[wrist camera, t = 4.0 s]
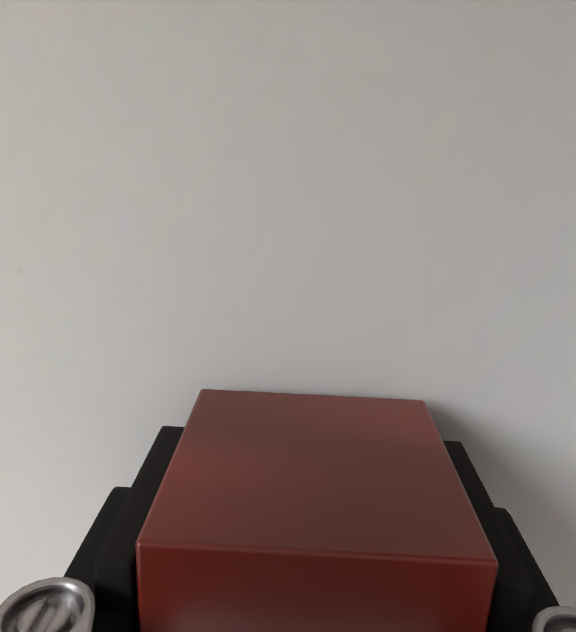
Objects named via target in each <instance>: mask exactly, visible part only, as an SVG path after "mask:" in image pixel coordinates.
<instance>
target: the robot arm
mask: <svg viewBox="0 0 576 632" xmlns="http://www.w3.org/2000/svg"><path fill="white" fill-rule="evenodd" d="M184 428H185V427H173V426H163V427H162V428H161V430H160V432H159V434H158V436H157V438H156V439H155V441H154V443H153V445H152V447H151V449H150V451H149V453H148V455H147V457H146V459H145V461H144V463H143V465H142V467H141V469H140V471H139V473H138V475H137V477H136V479H135V481H134V483H133V485H132V487H115V488H113V490H112V491H111V493H110V494H109V496H108V498H107V500H106V501H105V503H104V505H103V507H102V509H101V510H100V512H99V514H98V516H97V517H96V519H95V521H94V523H93V525H92V526H91V528H90V530H89V532H88V534H87V535H86V537H85V539H84V541H83V542H82V544H81V546H80V548H79V550H78V551H77V553H76V555H75V557H74V559H73V560H72V562H71V564H70V566H69V567H68V569H67V571H66V573H65V575H64V576H63V577H52V578H48V579H43V580H39V581H36V582H34V583H31V584H29V585H27V586H24V587H22V588H21V589H19V590H18V591H16V592H15V593H13V594H12V595H10V596H9V597H8V598H7V599H6V600H5V601H4V602H3V603H2V604H1V605H0V632H140V626H139V607H138V587H137V568H136V549H135V543H136V541H137V539H138V536H139V534H140V531H141V529H142V527H143V524H144V522H145V520H146V517H147V515H148V513H149V510H150V508H151V506H152V503H153V501H154V499H155V496H156V494H157V492H158V489H159V487H160V485H161V482H162V480H163V478H164V475H165V473H166V471H167V468H168V466H169V464H170V461H171V459H172V456H173V454H174V452H175V449H176V447H177V445H178V442H179V440H180V438H181V435H182V433H183V431H184ZM443 443H444V445H445V447H446V449H447V452H448V454H449V456H450V458H451V460H452V463H453V465H454V467H455V469H456V471H457V474H458V476H459V478H460V480H461V482H462V484H463V487H464V489H465V491H466V493H467V495H468V498H469V500H470V502H471V504H472V506H473V508H474V511H475V513H476V515H477V517H478V519H479V522H480V524H481V526H482V528H483V530H484V533H485V535H486V537H487V539H488V541H489V543H490V546H491V548H492V550H493V552H494V554H495V557H496V559H497V561H498V571H497V576H496V581H495V586H494V591H493V597H492V602H491V607H490V612H489V617H488V623H487V628H486V632H576V608H575V607H566V606H560V605H559V603H558V601H557V600H556V598H555V596H554V594H553V592H552V590H551V589H550V587H549V585H548V583H547V581H546V579H545V578H544V576H543V574H542V572H541V570H540V568H539V567H538V565H537V563H536V561H535V559H534V557H533V556H532V554H531V552H530V550H529V548H528V547H527V545H526V543H525V541H524V539H523V537H522V536H521V534H520V532H519V530H518V528H517V526H516V525H515V523H514V521H513V519H512V517H511V515H510V514H509V513H508V511H507V510H506V509H504V508H497V507H494V505H493V503H492V501H491V499H490V498H489V496H488V494H487V492H486V490H485V488H484V486H483V484H482V482H481V480H480V478H479V476H478V474H477V472H476V470H475V468H474V466H473V465H472V463H471V461H470V459H469V457H468V455H467V453H466V451H465V449H464V447H463V445H462V444H461V442H458V441H443Z"/></svg>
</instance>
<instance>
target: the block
mask: <svg viewBox="0 0 576 632" xmlns="http://www.w3.org/2000/svg"><path fill="white" fill-rule="evenodd" d="M135 549H136V568H137V587H138V607H139V626H140V632H486V628H487V623H488V617H489V612H490V607H491V602H492V597H493V591H494V586H495V581H496V576H497V571H498V561H497V559H496V557H495V554H494V552H493V550H492V548H491V546H490V543H489V541H488V539H487V537H486V535H485V533H484V530H483V528H482V526H481V524H480V522H479V519H478V517H477V515H476V513H475V511H474V508H473V506H472V504H471V502H470V500H469V498H468V495H467V493H466V491H465V489H464V487H463V484H462V482H461V480H460V478H459V476H458V474H457V471H456V469H455V467H454V465H453V463H452V460H451V458H450V456H449V454H448V452H447V449H446V447H445V445H444V443H443V441H442V439H441V436H440V434H439V432H438V430H437V428H436V425H435V423H434V421H433V419H432V417H431V414H430V412H429V410H428V408H427V406H426V404H425V402H424V401H422V400H405V399H385V398H366V397H346V396H327V395H307V394H288V393H268V392H249V391H229V390H210V389H203V390H201V391H200V393H199V396H198V398H197V400H196V403H195V405H194V407H193V410H192V412H191V414H190V417H189V419H188V421H187V424H186V426H185V428H184V431H183V433H182V435H181V438H180V440H179V442H178V445H177V447H176V449H175V452H174V454H173V456H172V459H171V461H170V464H169V466H168V468H167V471H166V473H165V475H164V478H163V480H162V482H161V485H160V487H159V489H158V492H157V494H156V496H155V499H154V501H153V503H152V506H151V508H150V510H149V513H148V515H147V517H146V520H145V522H144V524H143V527H142V529H141V531H140V534H139V536H138V539H137V541H136V543H135Z"/></svg>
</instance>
